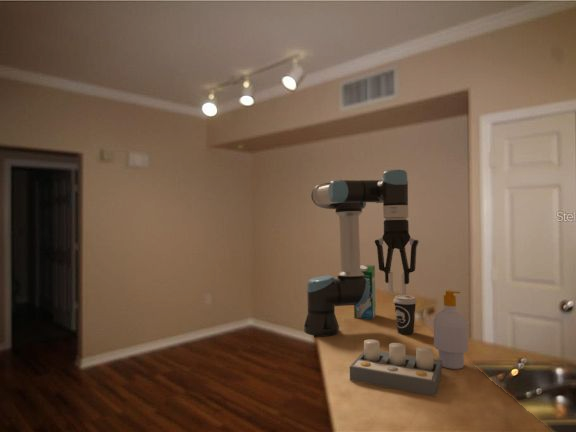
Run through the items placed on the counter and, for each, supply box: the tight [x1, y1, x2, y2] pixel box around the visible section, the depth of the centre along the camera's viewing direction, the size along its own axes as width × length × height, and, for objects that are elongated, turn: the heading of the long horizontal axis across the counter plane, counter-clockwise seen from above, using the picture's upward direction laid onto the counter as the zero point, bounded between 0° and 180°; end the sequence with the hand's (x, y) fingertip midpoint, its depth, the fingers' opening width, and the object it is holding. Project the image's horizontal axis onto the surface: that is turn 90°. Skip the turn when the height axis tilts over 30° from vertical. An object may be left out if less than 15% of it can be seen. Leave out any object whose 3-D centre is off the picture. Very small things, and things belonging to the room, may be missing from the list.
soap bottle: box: [433, 290, 469, 370], centre depth 121 cm, size 10×10×24 cm
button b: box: [388, 342, 406, 367], centre depth 114 cm, size 5×5×6 cm
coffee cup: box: [392, 294, 418, 336], centre depth 157 cm, size 10×10×15 cm
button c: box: [415, 346, 434, 371], centre depth 111 cm, size 5×5×6 cm
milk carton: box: [353, 264, 377, 320], centre depth 185 cm, size 9×9×25 cm
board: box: [349, 350, 443, 397], centre depth 113 cm, size 24×17×4 cm
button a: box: [363, 338, 381, 362], centre depth 118 cm, size 5×5×6 cm
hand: (397, 293), depth 116 cm, fingers open, 3 cm apart
